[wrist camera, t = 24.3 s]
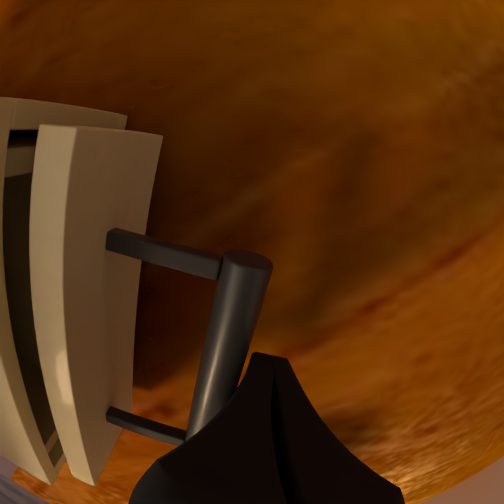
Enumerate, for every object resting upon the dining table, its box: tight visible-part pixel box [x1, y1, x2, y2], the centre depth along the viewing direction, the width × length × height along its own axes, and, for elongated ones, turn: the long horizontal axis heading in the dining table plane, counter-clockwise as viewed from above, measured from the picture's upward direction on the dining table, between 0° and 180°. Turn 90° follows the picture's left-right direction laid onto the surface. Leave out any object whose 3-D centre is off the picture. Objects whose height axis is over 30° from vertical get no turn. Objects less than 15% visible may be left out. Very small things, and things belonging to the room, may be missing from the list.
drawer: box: [3, 124, 273, 486], centre depth 10 cm, size 18×14×6 cm
